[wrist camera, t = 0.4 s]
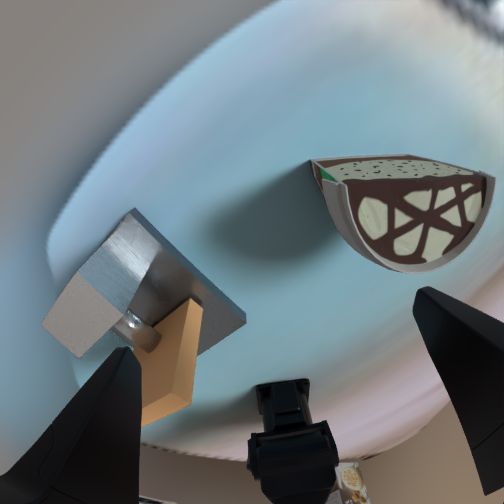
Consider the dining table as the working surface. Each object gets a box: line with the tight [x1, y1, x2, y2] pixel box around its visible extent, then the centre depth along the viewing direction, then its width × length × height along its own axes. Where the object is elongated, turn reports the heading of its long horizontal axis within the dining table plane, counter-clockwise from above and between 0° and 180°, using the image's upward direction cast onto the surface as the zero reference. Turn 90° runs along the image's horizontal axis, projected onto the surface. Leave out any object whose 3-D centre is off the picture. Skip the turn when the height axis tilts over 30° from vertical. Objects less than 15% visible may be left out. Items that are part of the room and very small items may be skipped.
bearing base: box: [41, 208, 246, 358], centre depth 22 cm, size 14×11×8 cm
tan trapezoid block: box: [113, 298, 203, 427], centre depth 19 cm, size 6×8×10 cm
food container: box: [310, 154, 496, 274], centre depth 18 cm, size 12×6×10 cm, turn 98°
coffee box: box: [326, 462, 370, 504], centre depth 40 cm, size 9×6×16 cm
